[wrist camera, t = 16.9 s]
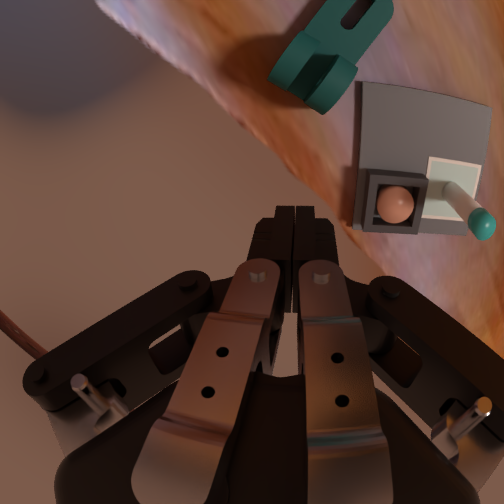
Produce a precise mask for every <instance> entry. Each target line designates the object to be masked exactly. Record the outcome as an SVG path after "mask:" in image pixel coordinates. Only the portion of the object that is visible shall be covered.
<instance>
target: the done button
mask: <svg viewBox="0 0 504 504" xmlns="http://www.w3.org/2000/svg"><path fill="white" fill-rule="evenodd" d="M375 206H376V208H377V210H378V212H379V214H380V216H381V218H382V219H383V220H385V221H386V222H389V223H399V222H402V221H404V220H406V219H407V218H408V217H409V216H410V214H411V213H412V211H413V207H414V201H413V198H412V196H411V194H410V193H409V191H408V190H407V189H406V187H405V186H403V185H391V184H384V185H383V186H381V187H380V188H379V189H378V191H377V195H376V202H375Z"/></svg>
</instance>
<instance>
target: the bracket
mask: <svg viewBox="0 0 504 504" xmlns="http://www.w3.org/2000/svg"><path fill="white" fill-rule="evenodd" d="M355 1H356V0H327V1H326V2H325V3H324V5H323V6H322V7H321V8H320V10H319V11H318V12H317V14H316V15H315V16H314V18H313V19H312V20H311V21H310V23H309V24H308V25H307V27H306V28H305V29H304V31H300V32H299V33H298V35H297V36H296V37H295V38H294V39H293V41H292V42H291V43H290V45H289V46H288V47H287V49H286V50H285V51H284V53H283V54H282V56H281V57H280V58H279V60H278V61H277V63H276V65H275V66H274V68H273V69H272V71H271V73H270V74H269V76H268V78H267V80H268V81H270V82H271V83H273V84H275V85H276V86H278V87H280V88H281V89H283V90H285V91H286V90H288V91H289V92H291V93H293V94H294V95H296V96H297V97H299V98H300V99H302V100H303V101H304V103H305V104H307V105H308V106H310V107H311V108H312V109H314V110H315V111H317V112H318V113H320V114H321V115H323V114H325V113H326V112H328V111H329V110H330V109H331V108H332V107H333V106H334V104H335V103H336V102H337V101H338V100H339V99H340V97H341V96H342V95H343V94H344V92H345V91H346V90H347V88H348V87H349V85H350V84H351V82H352V81H353V79H354V77H355V75H356V73H357V71H358V67H356V66H355V64H356V63H357V62H358V60H359V59H360V58H361V56H362V55H363V54H364V52H365V51H366V50H367V49H368V47H369V46H370V45H371V43H372V42H373V41H374V40H375V38H376V37H377V36H378V34H379V33H380V32H381V31H382V29H383V28H384V27H385V26H386V24H387V23H388V22H389V20H390V19H391V17H392V15H393V11H394V7H393V2H392V0H371V1H372V4H371V5H370V7H369V8H368V9H367V10H366V12H365V13H364V14H363V15H362V17H361V18H360V19H359V20H358V22H357V23H356V24H355V26H354V27H353V28H352V29H351V30H347V29H344V28H343V27H342V26H341V23H340V21H341V19H342V18H343V16H344V15H345V14H346V13H347V11H348V10H349V9H350V7H351V6H352V5H353V4H354V3H355Z"/></svg>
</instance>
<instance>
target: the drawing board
mask: <svg viewBox="0 0 504 504" xmlns="http://www.w3.org/2000/svg"><path fill="white" fill-rule="evenodd" d="M491 115H492V108H491V107H488V106H485V105H481V104H478V103H474V102H471V101H467V100H463V99H460V98H456V97H452V96H447V95H443V94H438V93H434V92H429V91H424V90H419V89H413V88H407V87H401V86H395V85H388V84H380V83H372V82H362V83H361V124H360V144H359V159H358V172H357V184H356V194H355V204H354V213H353V221H352V229H354V230H363V232H379V233H399V234H418V233H432V234H447V235H462V236H466V234H467V231H468V228H469V227H468V225H467V224H466V223H465V222H464V221H463V219H462V218H461V217H460V216H459V215H458V214H457V213H456V212H455V210H454V209H453V208H452V207H451V206H450V205H449V204H448V203H447V202H446V201H445V199H444V198H443V196H442V189H443V187H444V186H445V184H447V183H448V182H455V183H457V184H458V185H459V186H460V187H461V188H462V189H463V190H465V191H466V192H467V193H468V194H469V195H470V196H471V197H472V198H473V199H474V200H475V201H476V199H477V195H478V191H479V186H480V182H481V177H482V173H483V168H484V163H485V157H486V152H487V146H488V139H489V132H490V124H491ZM384 184H391V185H403V186H405V187H406V189H407V190H408V191H409V193H410V194H411V196H412V198H413V201H414V207H413V211H412V213H411V214H410V216H409V217H408V218H407V219H406V220H404V221H402V222H399V223H389V222H386V221H385V220H383V219H382V218H381V216H380V214H379V212H378V210H377V208H376V206H375V202H376V195H377V191H378V189H379V188H380V187H381V186H383V185H384Z"/></svg>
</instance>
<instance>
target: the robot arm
mask: <svg viewBox="0 0 504 504" xmlns="http://www.w3.org/2000/svg"><path fill="white" fill-rule="evenodd" d="M292 288H293V313H298V316H297V351H298V375H294V376H288V377H275V376H272V374H273V369H274V364H275V360H276V355H277V350H278V346H279V341H280V336H281V332H282V324H283V320H284V312H286V313H290V312H291V301H292ZM179 324H180V326H181V329H179V330H178V331H176V332H175V333H173V334H172V335H170V336H169V337H167V338H165V339H164V340H163V341H161V342H159V343H158V344H156V345H155V346H153V347H152V348H150V349H149V346H150V344H151V343H152V342H153V341H155V340H156V339H158V338H159V337H161V336H162V335H164V334H165V333H167V332H168V331H170V330H171V329H173V328H174V327H176V326H178V325H179ZM397 336H398V337H399V338H400V339H402V340H403V341H404V342H405V343H406V344H407V345H409V346H410V347H411V348H412V349H413V350H414V351H416V352H417V353H418V354H419V355H418V354H417V353H415V352H414V351H413V350H412V349H411V348H410V347H408V346H407V345H406V344H405V343H404V342H403V341H402V340H400V339H399V338H398V337H397ZM372 371H373V372H374V373H375V374H376V375H377V376H378V377H379V378H380V379H381V380H382V381H383V382H384V383H385V384H386V385H387V386H388V387H389V388H390V389H391V390H392V391H393V392H394V393H395V394H396V395H398V396H399V397H400V398H401V399H402V400H403V401H404V402H405V403H406V404H407V405H408V406H409V407H410V408H411V409H412V410H413V411H414V412H415V413H416V414H417V415H418V416H419V417H420V418H421V419H422V420H423V421H424V422H425V423H426V424H427V425H428V426H429V427H431V429H432V430H431V441H430V439H429V438H428V437H427V436H426V435H425V434H424V433H423V432H422V431H421V430H420V429H419V428H418V427H417V426H416V424H414V422H413V421H412V420H411V419H410V418H409V417H408V416H407V415H406V414H405V413H404V412H403V411H402V410H401V409H400V407H398V405H397V404H396V403H395V402H394V401H393V400H392V399H391V398H390V397H388V396H387V395H386V394H385V393H383V392H382V391H380V390H378V389H377V388H375V387H374V381H373V375H372ZM178 378H180V379H179V380H178V381H176V382H174V381H175V380H177V379H178ZM172 382H174V383H172ZM171 383H172V384H171ZM168 385H169V386H168ZM165 387H166V388H165ZM23 388H24V390H25V392H26V393H27V394H28V395H29V396H30V397H31V398H33V399H34V400H35V401H36V402H37V403H38V404H39V405H40V406H41V408H42V409H43V410H45V411H46V413H47V414H48V417H49V420H50V423H51V425H52V428H53V430H54V432H55V435H56V438H57V440H58V442H59V445H60V447H61V449H62V451H63V454H64V456H65V459H63V461H62V462H61V464H60V465H59V468H58V470H57V472H56V475H55V481H54V491H55V498H56V504H480V499H479V496H478V492H479V491H480V489H481V488H482V487H483V485H484V484H485V483H486V481H487V480H488V479H489V477H490V476H491V474H492V473H493V472H494V470H495V469H496V467H497V466H498V464H499V463H500V461H501V460H502V458H503V457H504V359H503V358H501V357H500V356H499V355H498V354H497V353H496V352H494V351H493V350H492V349H491V348H490V347H488V346H487V345H486V344H485V343H484V342H482V341H481V340H480V339H479V338H477V337H476V336H475V335H474V334H472V333H471V332H470V331H469V330H467V329H466V328H465V327H464V326H462V325H461V324H460V323H459V322H457V321H456V320H455V319H454V318H452V317H451V316H450V315H448V314H447V313H446V312H445V311H443V310H442V309H441V308H439V307H438V306H437V305H435V304H434V303H433V302H431V301H430V300H429V299H427V298H426V297H425V296H423V295H422V294H421V293H419V292H418V291H417V290H415V289H414V288H412V287H411V286H410V285H408V284H407V283H406V282H404V281H403V280H401V279H399V278H396V277H393V276H381V277H377V278H375V279H373V280H372V281H371V282H370V284H369V285H366V284H362V283H359V282H355V281H353V280H350V279H349V278H347V277H346V276H345V275H344V274H343V271H342V269H341V268H340V267H339V261H338V254H337V246H336V239H335V232H334V226H333V224H332V223H331V222H330V221H329V220H328V219H326V218H315V213H314V206H296V216H295V206H276V210H275V216H274V218H262V219H261V220H260V222H258V223H257V224H256V227H255V230H254V234H253V238H252V242H251V246H250V249H249V253H248V257H247V260H246V261H245V262H244V263H242V264H241V265H239V267H238V268H237V270H236V272H235V274H234V276H232V277H229V278H226V279H221V280H217V281H210V278H209V276H208V275H207V274H206V273H204V272H201V271H197V270H190V271H185V272H182V273H180V274H177V275H176V276H174V277H172V278H171V279H169V280H167V281H165V282H164V283H162V284H160V285H159V286H157V287H155V288H154V289H152V290H150V291H149V292H147V293H145V294H144V295H142V296H140V297H139V298H137V299H135V300H133V301H132V302H130V303H129V304H127V305H125V306H124V307H122V308H120V309H118V310H117V311H115V312H113V313H112V314H110V315H108V316H107V317H105V318H104V319H102V320H100V321H99V322H97V323H95V324H94V325H92V326H90V327H89V328H87V329H86V330H84V331H83V332H81V333H79V334H77V335H76V336H74V337H72V338H71V339H69V340H68V341H66V342H64V343H63V344H61V345H59V346H58V347H56V348H55V349H53V350H51V351H50V352H48V353H47V354H45V355H43V356H42V357H40V358H39V359H37V360H35V361H34V362H32V363H31V364H30V365H29V367H28V368H27V369H26V371H25V373H24V376H23ZM162 389H163V390H162ZM161 390H162V391H161ZM159 391H160V392H159ZM158 392H159V393H158ZM156 393H158V394H156ZM155 394H156V395H155ZM153 395H155V396H153ZM152 396H153V397H152ZM150 397H152V398H150ZM149 398H150V399H149ZM147 399H149V400H148V401H146V400H147ZM144 401H146V402H145V403H143V402H144ZM141 403H143V404H142V405H141V406H139V407H138V408H136V409H135V410H134V411H132V412H131V413H129V411H131V410H132V409H134V408H135V407H137V406H138V405H140V404H141Z"/></svg>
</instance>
